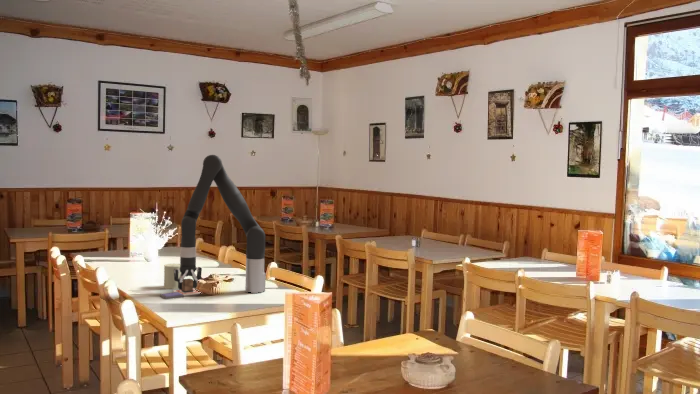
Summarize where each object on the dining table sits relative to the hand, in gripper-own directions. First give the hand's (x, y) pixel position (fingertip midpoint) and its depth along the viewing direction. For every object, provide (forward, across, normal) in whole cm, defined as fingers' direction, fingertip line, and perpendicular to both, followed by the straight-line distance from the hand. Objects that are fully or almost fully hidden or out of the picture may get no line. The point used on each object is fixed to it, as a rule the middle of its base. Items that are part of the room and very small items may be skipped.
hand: (187, 288), depth 305 cm
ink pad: (+2, -10, -5) cm, 11 cm away
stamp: (+1, 0, 0) cm, 1 cm away
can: (+2, -1, +16) cm, 16 cm away
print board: (+2, 0, 0) cm, 2 cm away
